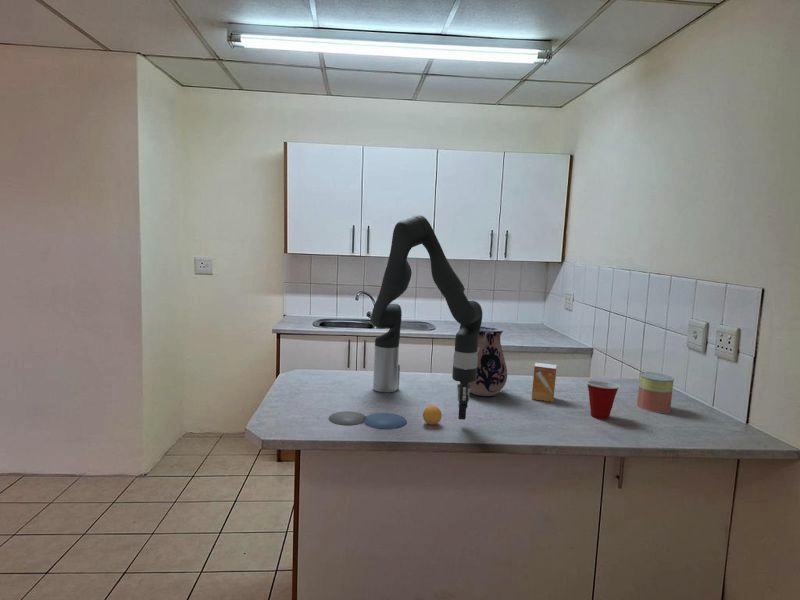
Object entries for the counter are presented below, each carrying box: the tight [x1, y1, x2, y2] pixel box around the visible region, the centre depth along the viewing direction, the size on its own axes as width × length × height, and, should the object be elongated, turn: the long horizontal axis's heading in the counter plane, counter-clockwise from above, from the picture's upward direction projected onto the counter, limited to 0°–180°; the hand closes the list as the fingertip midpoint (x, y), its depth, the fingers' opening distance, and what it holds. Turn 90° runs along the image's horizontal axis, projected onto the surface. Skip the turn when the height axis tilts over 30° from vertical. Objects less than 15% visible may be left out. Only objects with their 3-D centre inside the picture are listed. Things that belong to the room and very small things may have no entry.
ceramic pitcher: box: [468, 325, 508, 397], centre depth 200 cm, size 18×21×25 cm
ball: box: [422, 405, 443, 426], centre depth 164 cm, size 6×6×6 cm
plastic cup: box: [586, 380, 621, 420], centre depth 178 cm, size 11×11×12 cm
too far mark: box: [328, 410, 367, 426], centre depth 166 cm, size 12×12×1 cm
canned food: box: [636, 371, 675, 414], centre depth 190 cm, size 11×11×12 cm
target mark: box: [363, 412, 408, 430], centre depth 165 cm, size 14×14×1 cm
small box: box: [531, 362, 558, 403], centre depth 195 cm, size 8×6×13 cm
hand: (461, 418), depth 163 cm, fingers closed
